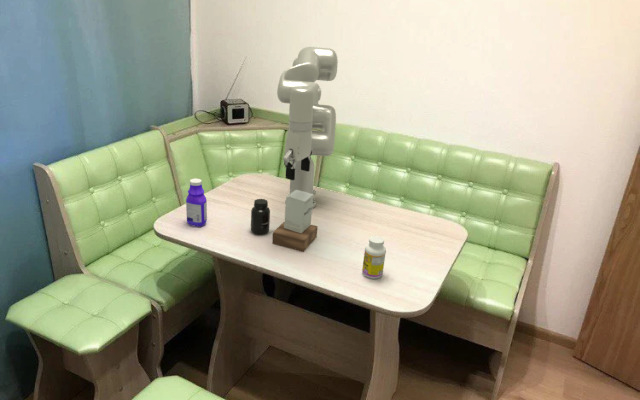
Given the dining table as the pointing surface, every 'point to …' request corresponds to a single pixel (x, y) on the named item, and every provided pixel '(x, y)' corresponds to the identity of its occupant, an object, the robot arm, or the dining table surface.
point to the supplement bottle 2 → (374, 258)
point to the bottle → (196, 204)
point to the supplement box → (298, 211)
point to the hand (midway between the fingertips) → (297, 174)
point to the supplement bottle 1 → (260, 217)
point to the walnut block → (294, 237)
